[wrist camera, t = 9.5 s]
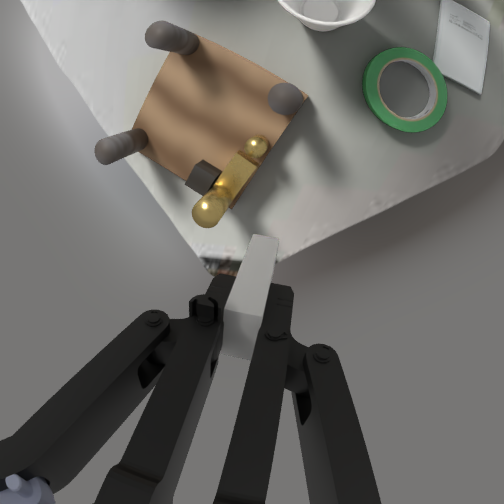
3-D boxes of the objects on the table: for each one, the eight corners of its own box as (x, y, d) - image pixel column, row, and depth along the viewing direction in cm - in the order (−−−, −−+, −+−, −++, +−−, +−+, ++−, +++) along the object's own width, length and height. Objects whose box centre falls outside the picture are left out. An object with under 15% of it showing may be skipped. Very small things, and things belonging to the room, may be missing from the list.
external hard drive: (428, 70, 29) (439, -2, 22) (476, 94, 28) (486, 23, 22) (433, 69, 27) (443, -5, 21) (482, 95, 27) (491, 22, 20)
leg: (253, 128, 34) (240, 137, 28) (275, 144, 35) (267, 156, 28) (207, 194, 40) (186, 217, 33) (227, 208, 40) (210, 233, 33)
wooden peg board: (190, 32, 31) (154, 17, 22) (308, 95, 33) (308, 94, 24) (134, 140, 40) (91, 157, 31) (235, 202, 42) (215, 235, 34)
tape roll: (373, 135, 35) (377, 138, 32) (351, 54, 30) (354, 52, 28) (446, 125, 31) (454, 128, 29) (428, 47, 27) (436, 45, 24)
